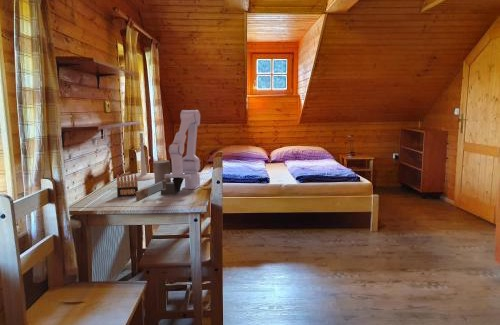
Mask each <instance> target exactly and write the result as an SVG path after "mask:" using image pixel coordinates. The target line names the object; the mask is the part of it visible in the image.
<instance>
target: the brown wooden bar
mask: <svg viewBox="0 0 500 325" xmlns="http://www.w3.org/2000/svg"><path fill="white" fill-rule="evenodd" d="M161 182H163V189H164V188H165V184H166V183H167V180H161ZM147 197H149V195H148V188H147V187H144V188H141V189H138V191H136V196H135V201H139V202H140V201H141V200H143V199H146V198H147Z"/></svg>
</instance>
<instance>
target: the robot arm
mask: <svg viewBox="0 0 500 325" xmlns="http://www.w3.org/2000/svg"><path fill="white" fill-rule="evenodd" d="M179 114H180V115H179V117H180V126H179V130H178V131H177V132H176V133H175V136H174V139H173V141H172V143H171V144H170V145H169V146H168V153H169V158H170V159H171V173H170V174H165V178H171V182H173V183H174V184H175V186H176V189H177V192H178V193H179V192H181V189H186V190H196V189H198V188H200V187H201V186H202V184H201V179H200V178H201V176H200V173H199V171H200V170H201V162H200V160H201V159H200V158H199V157H198V156H197V155H196V151H197V138H198V137H197V136H198V127H199V126H200V124H201V113H200V111H199V110H198V109H195V110H194V109H191V110H190V109H189V110H187V109H182V110H181V112H180V113H179ZM187 132H188V133H187ZM186 133H187V134H186ZM186 140H187V142H186ZM185 143H187V144H186V155H184V156H183V154H185V153H184V152H185ZM183 181H184V186H183V187H182V184H183Z"/></svg>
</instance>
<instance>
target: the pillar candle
mask: <svg viewBox="0 0 500 325" xmlns="http://www.w3.org/2000/svg"><path fill="white" fill-rule="evenodd" d="M152 163H153V174H154V175H153V176H154V184H156V183H159V182H161V180H167V183H168V182H172V178H165V174H171V163H170V160H168V159H161V160H154V161H153V162H152Z"/></svg>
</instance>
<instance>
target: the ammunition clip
mask: <svg viewBox="0 0 500 325" xmlns="http://www.w3.org/2000/svg"><path fill="white" fill-rule="evenodd" d="M136 176H137V174H136V173H135V174H134V176H133V173H131V174H130V175H129V174H127V176H126V174H124V175H123V174H120V175H119V174H117V175H116V194H117V195H116V197H117V198H127V197H128V198H130V197H136V191H139V185H138V184H139V183H138V180H137V177H136Z"/></svg>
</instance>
